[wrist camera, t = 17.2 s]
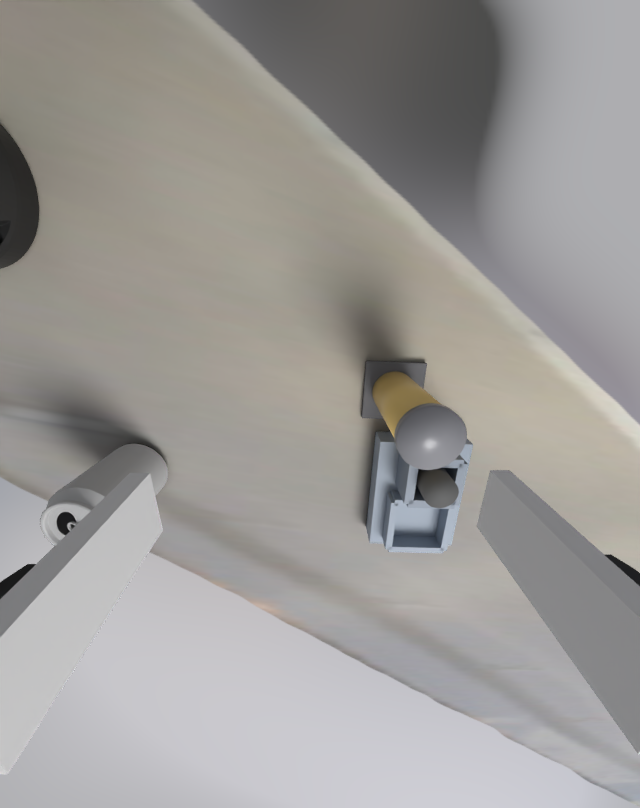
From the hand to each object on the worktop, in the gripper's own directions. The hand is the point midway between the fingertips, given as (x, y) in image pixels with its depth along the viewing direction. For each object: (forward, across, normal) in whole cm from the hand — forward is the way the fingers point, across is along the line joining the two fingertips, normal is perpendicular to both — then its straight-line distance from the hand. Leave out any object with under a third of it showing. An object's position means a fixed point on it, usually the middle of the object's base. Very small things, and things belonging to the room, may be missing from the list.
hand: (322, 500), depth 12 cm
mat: (+24, +9, -3) cm, 26 cm away
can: (+25, -23, -14) cm, 37 cm away
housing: (+24, +13, -16) cm, 32 cm away
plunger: (+21, +13, -12) cm, 27 cm away
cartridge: (+24, +9, -3) cm, 26 cm away
